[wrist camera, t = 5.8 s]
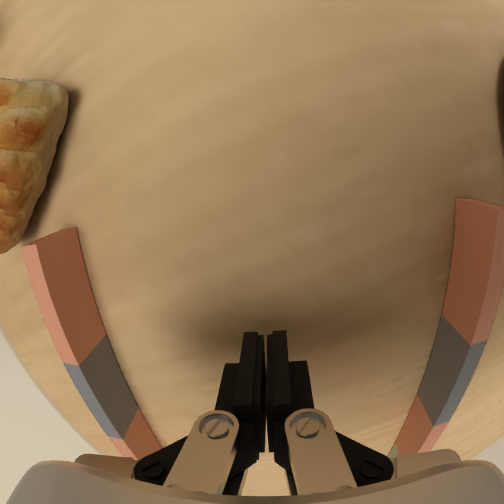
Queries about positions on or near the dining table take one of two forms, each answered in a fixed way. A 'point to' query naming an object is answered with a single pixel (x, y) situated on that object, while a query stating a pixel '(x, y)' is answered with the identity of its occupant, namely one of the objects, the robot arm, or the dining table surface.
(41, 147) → the pastry
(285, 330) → the robot arm
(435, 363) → the striped u-shaped rail
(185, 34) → the dining table surface
